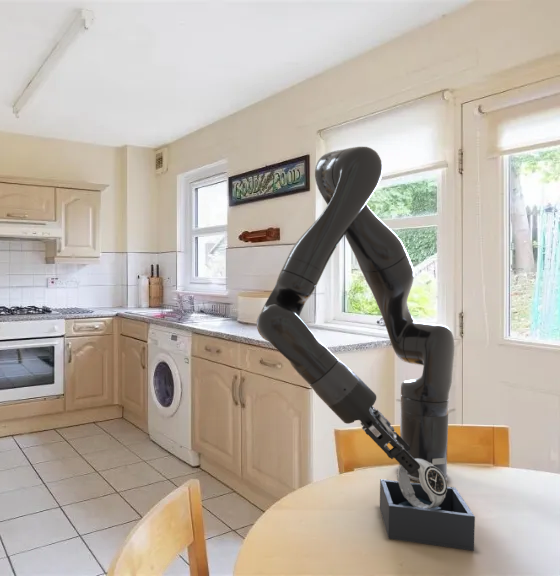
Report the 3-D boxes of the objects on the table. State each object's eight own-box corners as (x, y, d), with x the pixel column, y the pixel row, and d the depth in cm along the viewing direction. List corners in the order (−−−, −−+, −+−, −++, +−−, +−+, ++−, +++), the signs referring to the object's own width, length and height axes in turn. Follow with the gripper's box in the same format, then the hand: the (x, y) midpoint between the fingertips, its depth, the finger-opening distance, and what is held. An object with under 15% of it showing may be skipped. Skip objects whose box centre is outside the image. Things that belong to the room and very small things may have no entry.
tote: (379, 508, 90) (380, 478, 89) (454, 517, 86) (455, 487, 86) (388, 538, 79) (389, 505, 79) (474, 551, 76) (474, 516, 76)
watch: (430, 539, 78) (431, 473, 78) (389, 516, 85) (390, 455, 85) (452, 531, 81) (453, 467, 80) (410, 509, 88) (412, 450, 87)
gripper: (362, 386, 78) (438, 462, 75) (354, 368, 92) (418, 433, 89) (327, 415, 80) (401, 491, 77) (325, 393, 93) (387, 458, 91)
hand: (410, 460), depth 83 cm, fingers open, 8 cm apart
